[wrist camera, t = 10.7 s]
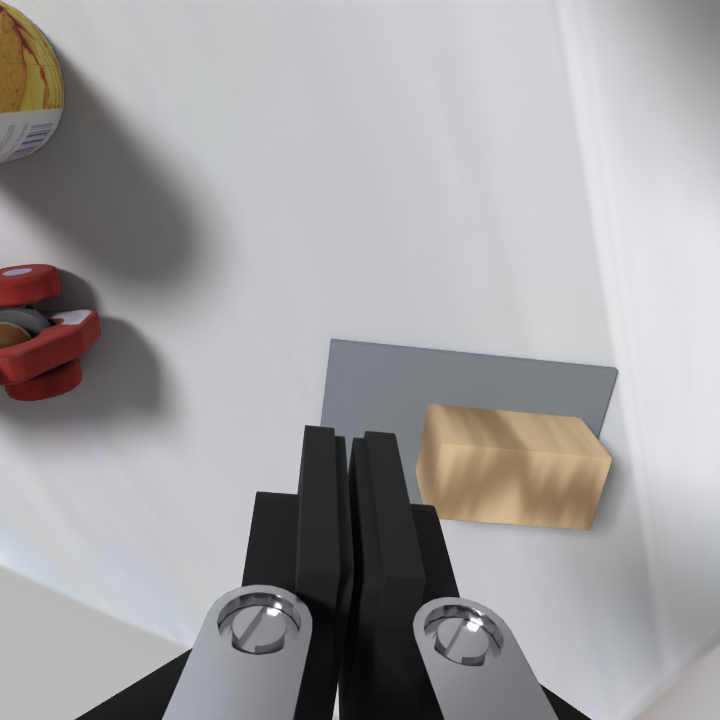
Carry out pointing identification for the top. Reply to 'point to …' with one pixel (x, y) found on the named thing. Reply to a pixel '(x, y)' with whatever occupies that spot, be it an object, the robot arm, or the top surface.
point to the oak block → (510, 467)
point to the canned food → (26, 86)
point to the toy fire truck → (40, 335)
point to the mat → (448, 391)
